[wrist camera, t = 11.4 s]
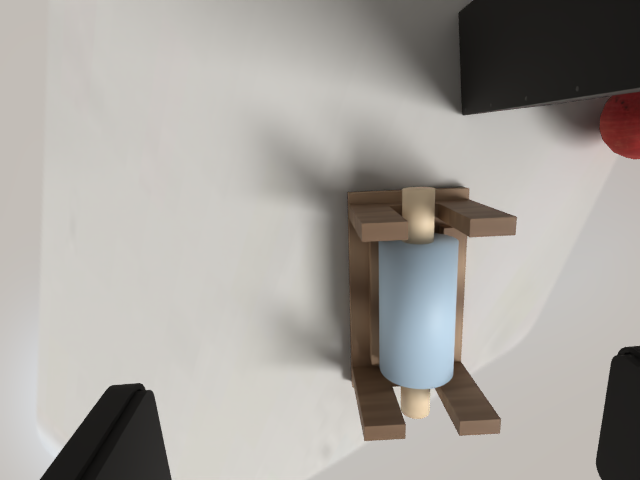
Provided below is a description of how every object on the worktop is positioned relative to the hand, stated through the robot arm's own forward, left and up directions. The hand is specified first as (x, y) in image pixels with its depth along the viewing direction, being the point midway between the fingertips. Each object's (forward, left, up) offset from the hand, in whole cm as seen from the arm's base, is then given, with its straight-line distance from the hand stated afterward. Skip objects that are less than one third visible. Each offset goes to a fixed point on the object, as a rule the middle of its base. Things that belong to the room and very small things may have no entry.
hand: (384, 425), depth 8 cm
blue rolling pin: (+8, +7, -26) cm, 28 cm away
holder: (+8, +7, -27) cm, 29 cm away
